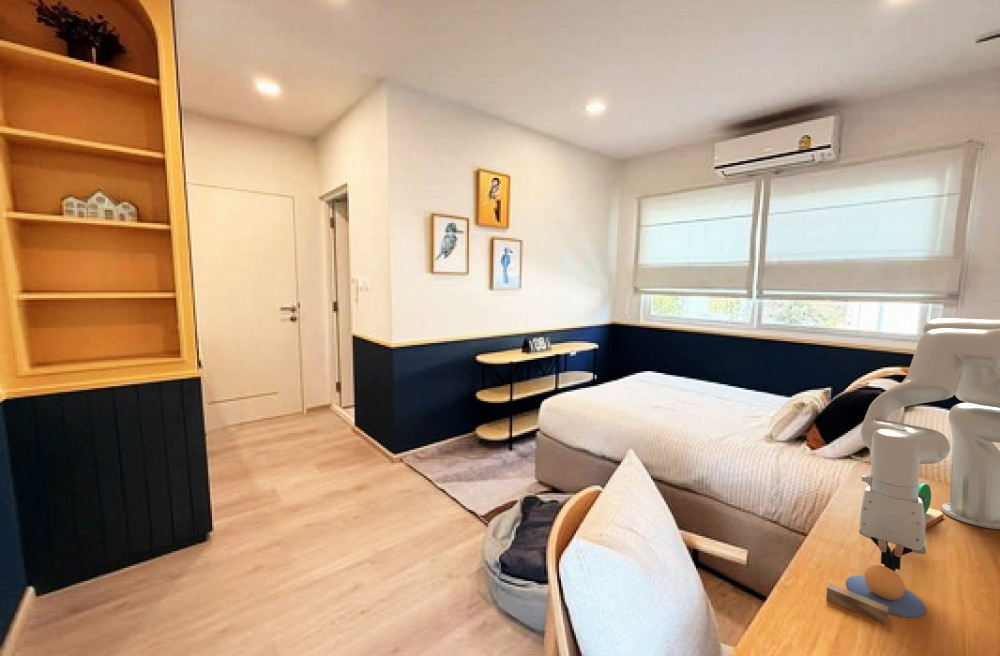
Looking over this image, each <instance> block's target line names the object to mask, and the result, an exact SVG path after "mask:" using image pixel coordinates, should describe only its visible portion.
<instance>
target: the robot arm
mask: <svg viewBox="0 0 1000 656" xmlns="http://www.w3.org/2000/svg"><path fill="white" fill-rule="evenodd" d="M922 331H923V334H922V335H921V336H920V338H919V340H918V343H917V345H916V348H915V351H914V354H913V357H912V359H911V363H910V366H909V369H908V371H907V374H906V376H905V379H904V381H902V382H900V383H899V384H896V385H894V386H892V387H890V388H888V389H886V390H885V391H884V392H882V393H881V394H879V395H878V396H877V397H876V398H875V399H873V401H872V402H871V403H870V404H869V407H868V409H867V411H866V414H865V416H864V419H863V422H862V426H861V430H860V438H861V442H862V444H863V445H865V447H866V448H868V449H870V450H871V453H870V454H871V455H870V457H871V458H870V459H871V461H870V475H862V476H861V482H864V483H865V484H868V486H867V487H865V489H864V492H863V495H862V501H861V507H860V508H861V509H860V515H859V517H860V518H859V531H858V533H859V535H861V536H863V537H865V538H867V539H870V540H871V541H872V542H873V543H874V544H875V545H876V547H878V549H879V551H880V565H883V566H884V567H887V568H889V569H891V570H893V571H894V572H896V570H898V571H900V570H901V562H902V561H901V560H902V559H901V558H902V557H903V556H904V555H908V554H910V553H914V554H921V555H926V554H927V547H926V546H927V545H926V543H925V542H926V534H927V532H926V531H927V528H926V525H925V513H924V507H923V502H922V500H921V499H920V498H919V497H918V486H919V485H920V484H919V481H920V480H919V479H920V465H931V464H933V465H934V464H937V463H941V462H942V461H943V460H945V459H946V458H947V457H948V456H949V454H950V451H951V471H950V472H951V473H950V490H949V502H945V503H942V504H941V512H942V513H943V514H946V515H947V516H949V517H951V518H953V519H955V520H956V521H957V520H958V521H960V522H963V523H965V524H968V525H973V526H976V527H981V528H986V529H992V530H1000V449H999V448H998V447H997V445H995V443H998V444H1000V319H980V318H978V319H977V318H935V319H931V320H928V321H927V322H926V323H925V324H924V326H923V330H922ZM954 396H955V397H956V398H957V399H958V400H959V401H961V402H960V403H957V404H954V405H953V406H952V407H951V408H950V410H949V413H948V420H949V426H950V432H951V433H950V434H951V443H952V445H950V441H949V439H948V438H947V437H946V436H945V434H943V433H942V432H940V431H938V430H935V429H932V428H928V427H923V426H918V425H912V424H907V423H903V422H899V421H893V420H887V419H888V418H889V417H890V415H892V414H893V413H894V412H896V411H897V410H900V409H903V408H905V407H908V406H914V405H921V404H925V403H930V402H937V401H944V400H948V399H950V398H953V397H954ZM951 446H952V450H950V449H951ZM889 543H891V544H894V545H895V546H894V548H893V549H891V547H890V546H889Z"/></svg>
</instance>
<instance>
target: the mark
mask: <svg viewBox="0 0 1000 656" xmlns="http://www.w3.org/2000/svg"><path fill="white" fill-rule="evenodd" d="M845 585H846V588H847V590H848V591H851V592H853V593H856V594H858V595H861V596H863V597H866V598H868V599H871V600H873V601H876V602H878V603H881V604H883V605H886V606H888V607H889V614H890V615H894V616H897V617H902V618H920V617H923V616H924V615H925V614H926V612H927V611H926V610H927V607H926V605H925V604H924V602H923V601H922V600H921V599H920V598H919V597H918V596H917V595H915V594H914V593H913V592H911V591H910V590H908V589H906V588H905V590H904V594H903V595H902V596H901V597H900V598H899V599H896V600H887V599H884V598H881V597H879V596H877V595H876V594H874V593H873V592H872V591H871V590H870V589H869V587H868V586H867V584H866V582H865V575H862V574H860V575H851V576H849V577H847V579H846V581H845Z"/></svg>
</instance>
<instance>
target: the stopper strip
mask: <svg viewBox="0 0 1000 656" xmlns="http://www.w3.org/2000/svg"><path fill="white" fill-rule="evenodd" d="M826 600H828V601H830V602H832V603H835V604H837V605H839V606H841V607H844V608H846V609H848V610H850V611H854V612H856V613H858V614H861V615H862V616H865V617H867V618H870V619H872V620H874V621H877V622H879V623H881V624H883V625H886V626H887V625H888V623H889V622H888V621H889V614H890V613H889V607H888V606H886V605H883V604H881V603H878V602H876V601H873V600H871V599H868V598H866V597H863V596H861V595H858V594H856V593H853V592H851V591H849V589H845V588H843V587H840V586H837V585H835V584H833V583H828V585H827V587H826Z"/></svg>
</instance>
